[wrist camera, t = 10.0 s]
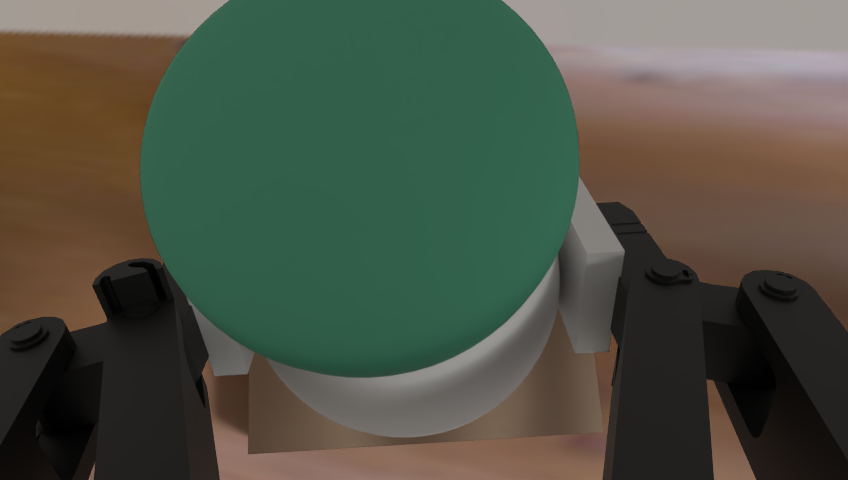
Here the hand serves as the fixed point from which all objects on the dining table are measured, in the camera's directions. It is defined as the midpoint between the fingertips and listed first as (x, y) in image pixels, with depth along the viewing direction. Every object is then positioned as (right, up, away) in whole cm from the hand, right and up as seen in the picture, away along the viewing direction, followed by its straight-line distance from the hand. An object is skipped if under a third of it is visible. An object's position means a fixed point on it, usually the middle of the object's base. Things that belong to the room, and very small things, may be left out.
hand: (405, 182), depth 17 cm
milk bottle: (0, -5, +8) cm, 9 cm away
